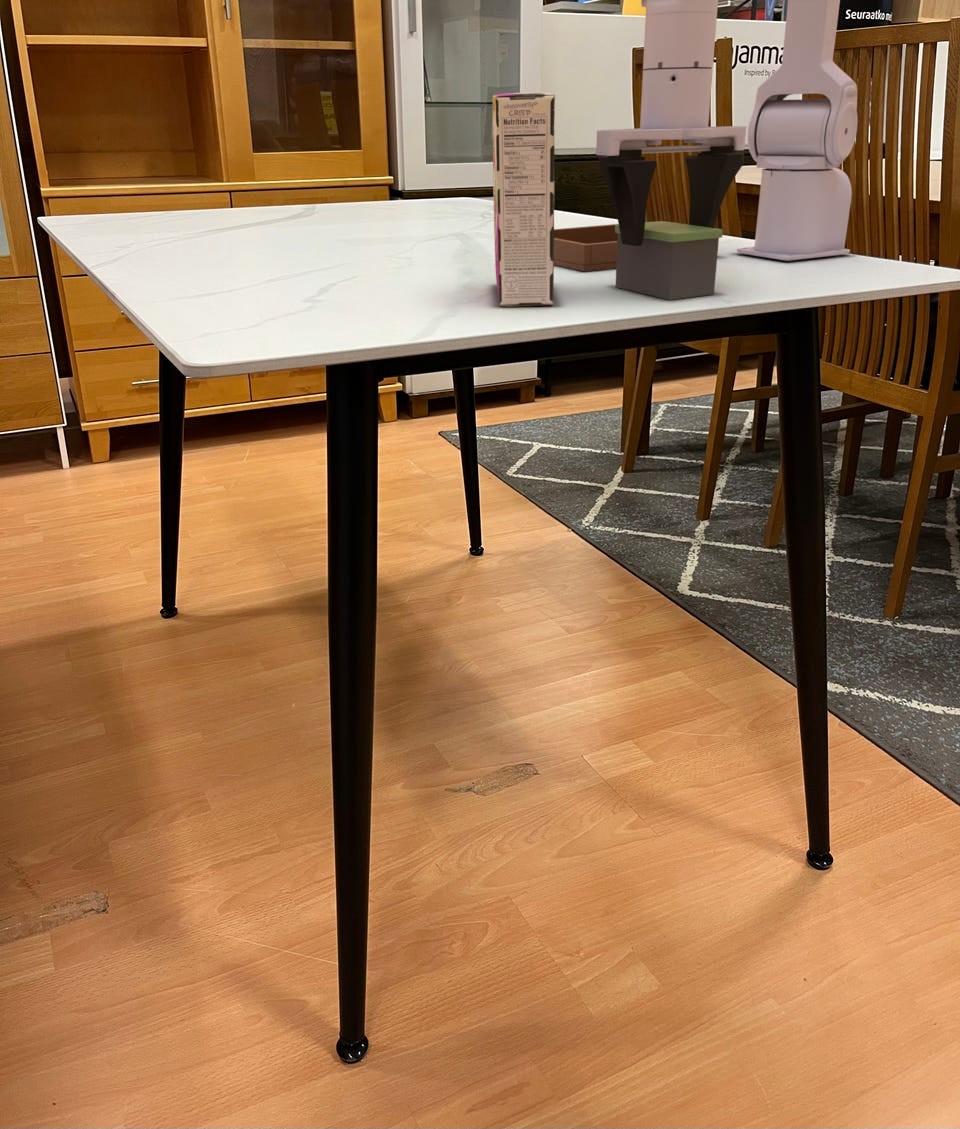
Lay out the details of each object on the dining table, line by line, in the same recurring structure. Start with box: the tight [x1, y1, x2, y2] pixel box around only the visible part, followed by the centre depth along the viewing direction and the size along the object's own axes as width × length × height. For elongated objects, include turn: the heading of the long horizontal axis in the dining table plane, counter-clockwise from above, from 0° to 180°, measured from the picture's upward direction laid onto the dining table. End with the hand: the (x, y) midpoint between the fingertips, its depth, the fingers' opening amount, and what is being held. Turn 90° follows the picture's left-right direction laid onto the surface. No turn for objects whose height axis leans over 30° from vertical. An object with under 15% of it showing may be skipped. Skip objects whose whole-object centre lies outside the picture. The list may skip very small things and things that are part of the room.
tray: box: [554, 223, 619, 273], centre depth 107 cm, size 18×14×3 cm
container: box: [615, 220, 724, 301], centre depth 86 cm, size 5×8×6 cm, turn 28°
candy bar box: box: [492, 92, 556, 308], centre depth 83 cm, size 11×5×16 cm, turn 0°
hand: (666, 241), depth 85 cm, fingers open, 7 cm apart
